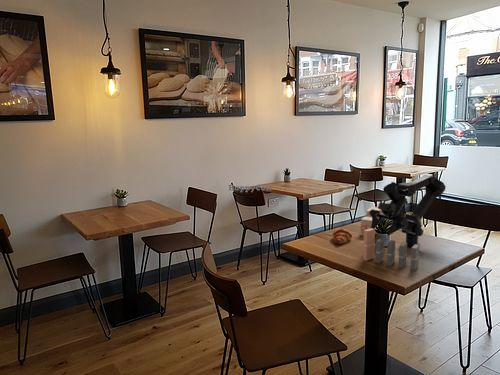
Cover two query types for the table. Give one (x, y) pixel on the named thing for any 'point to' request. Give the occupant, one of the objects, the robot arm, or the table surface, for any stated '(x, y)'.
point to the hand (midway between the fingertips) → (379, 232)
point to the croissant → (341, 235)
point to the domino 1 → (368, 244)
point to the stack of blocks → (368, 220)
